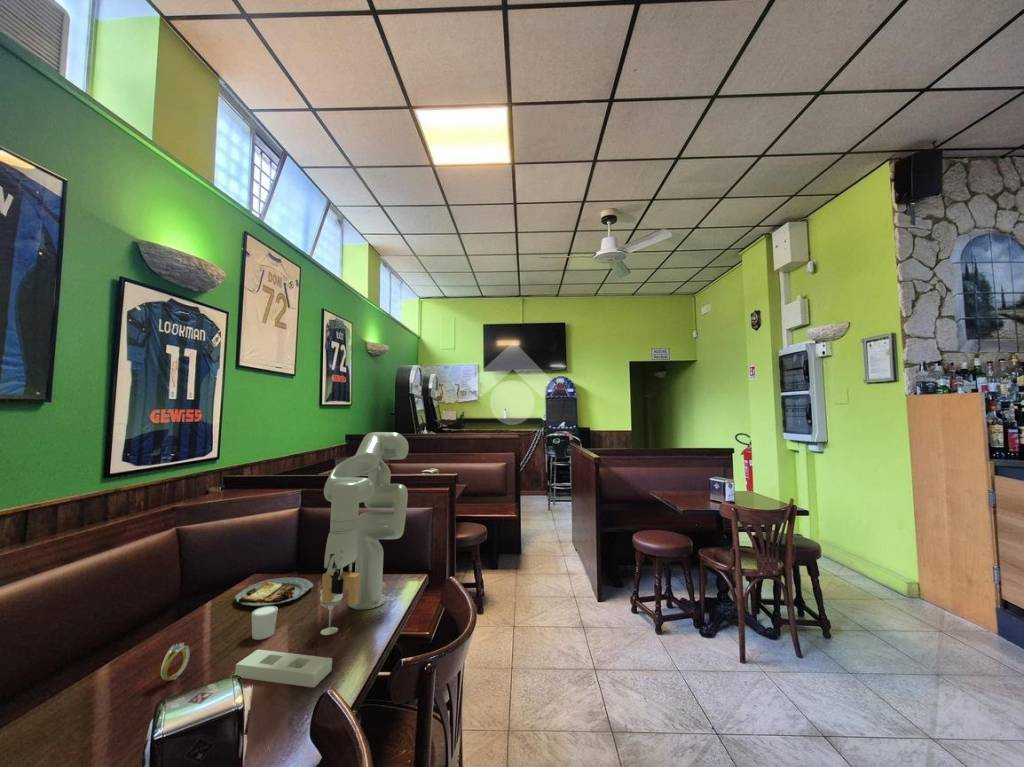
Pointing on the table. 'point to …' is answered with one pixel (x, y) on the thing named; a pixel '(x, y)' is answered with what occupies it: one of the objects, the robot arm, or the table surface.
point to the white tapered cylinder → (263, 622)
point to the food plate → (273, 591)
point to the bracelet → (166, 662)
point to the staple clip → (349, 582)
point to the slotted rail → (284, 668)
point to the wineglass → (330, 611)
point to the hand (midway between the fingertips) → (340, 590)
